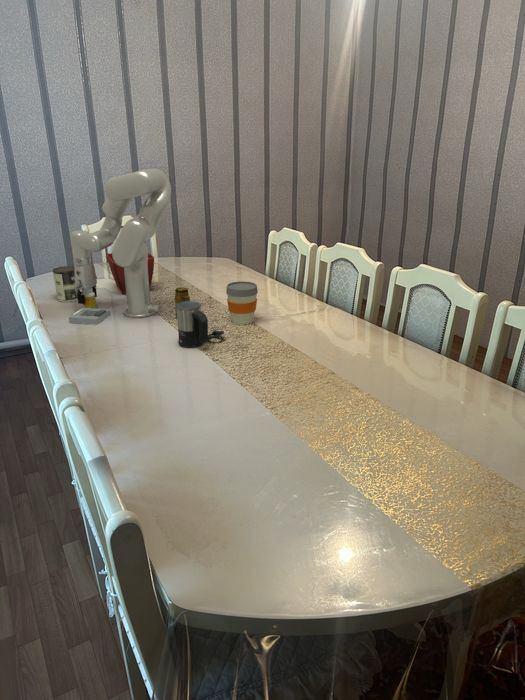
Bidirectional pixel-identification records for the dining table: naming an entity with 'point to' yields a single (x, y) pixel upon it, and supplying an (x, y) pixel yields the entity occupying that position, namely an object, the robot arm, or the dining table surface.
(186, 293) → the condiment
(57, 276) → the coffee can
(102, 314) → the dock
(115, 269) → the plant pot
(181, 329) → the milk frother
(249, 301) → the reusable coffee cup
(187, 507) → the dining table surface
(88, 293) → the supplement bottle
